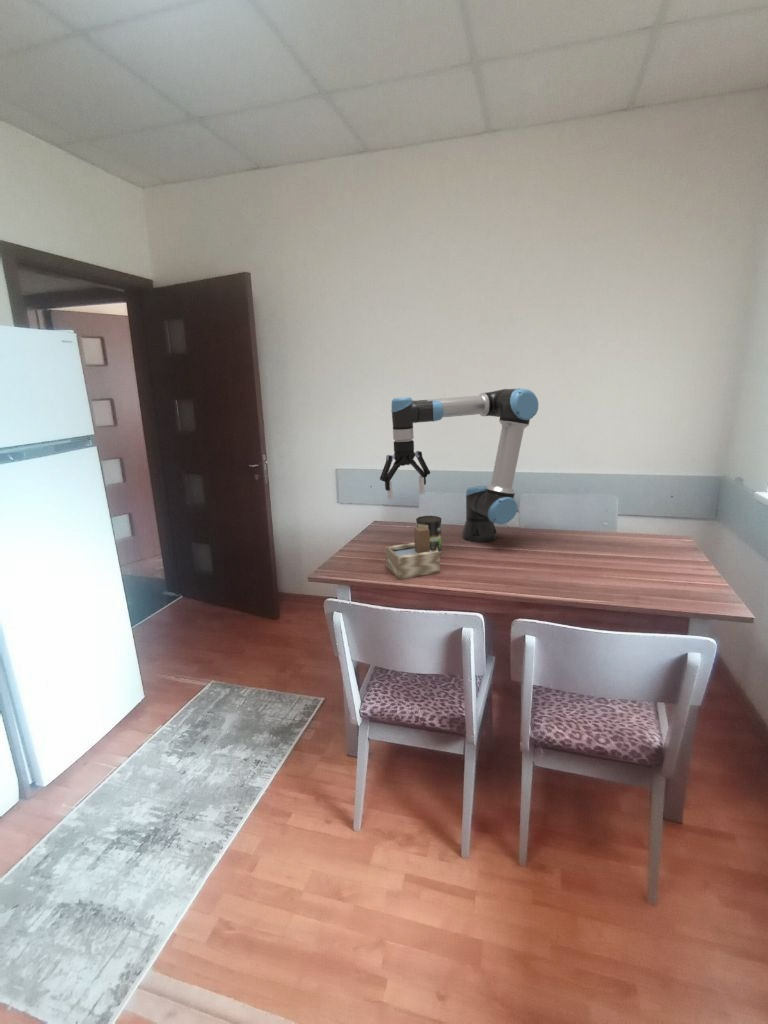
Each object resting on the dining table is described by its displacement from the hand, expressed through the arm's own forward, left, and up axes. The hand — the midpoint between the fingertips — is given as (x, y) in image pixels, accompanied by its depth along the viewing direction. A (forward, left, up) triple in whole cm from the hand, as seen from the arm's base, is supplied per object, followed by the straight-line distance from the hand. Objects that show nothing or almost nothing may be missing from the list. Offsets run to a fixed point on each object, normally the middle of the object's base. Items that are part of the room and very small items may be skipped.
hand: (406, 496), depth 184 cm
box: (+2, +10, -26) cm, 28 cm away
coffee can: (-12, -6, -26) cm, 29 cm away
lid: (+2, +10, -21) cm, 23 cm away
